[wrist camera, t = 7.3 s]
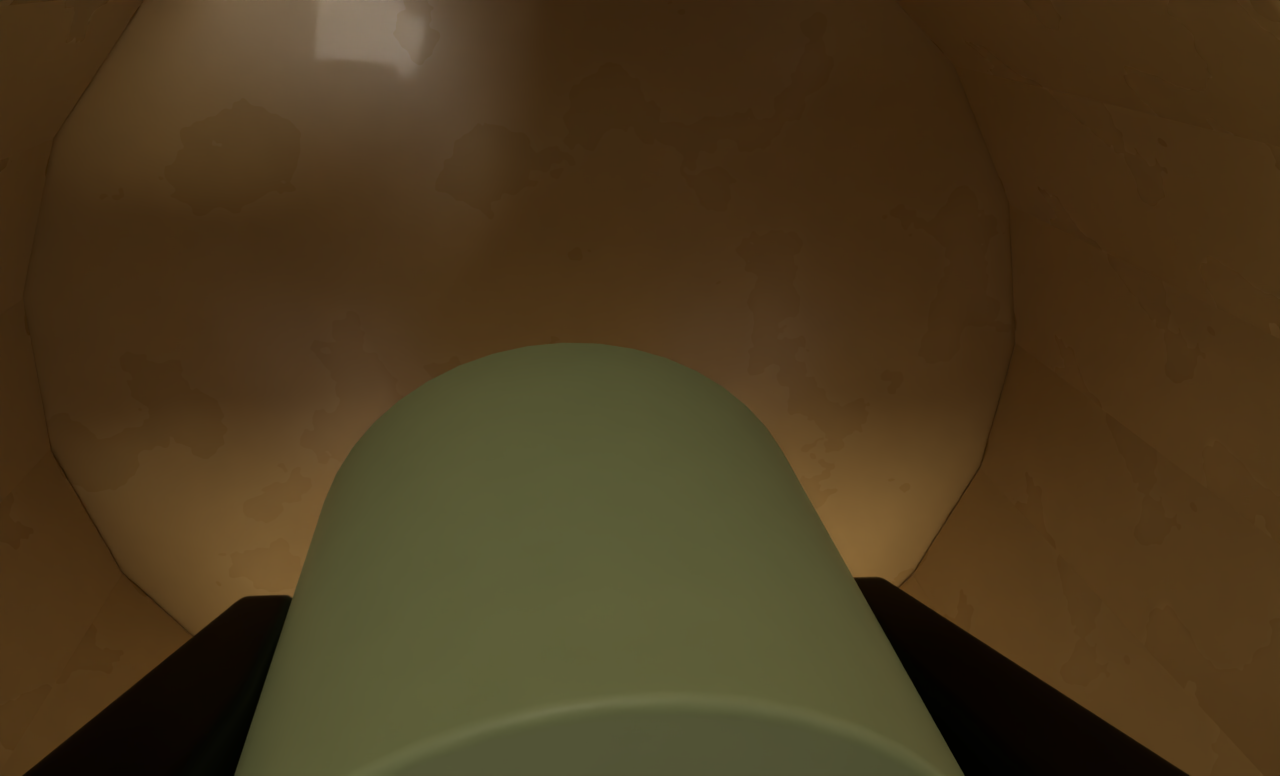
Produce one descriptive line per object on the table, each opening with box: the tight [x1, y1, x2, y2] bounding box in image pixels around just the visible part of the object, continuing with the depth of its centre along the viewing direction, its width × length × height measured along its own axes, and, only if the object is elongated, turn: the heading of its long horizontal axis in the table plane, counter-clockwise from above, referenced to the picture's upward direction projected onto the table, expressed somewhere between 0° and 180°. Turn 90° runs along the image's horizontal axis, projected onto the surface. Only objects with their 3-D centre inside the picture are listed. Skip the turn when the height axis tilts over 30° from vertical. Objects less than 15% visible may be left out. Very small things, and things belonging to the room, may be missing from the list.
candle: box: [234, 343, 964, 776], centre depth 7 cm, size 5×5×4 cm
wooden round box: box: [0, 0, 1280, 776], centre depth 10 cm, size 14×14×7 cm
